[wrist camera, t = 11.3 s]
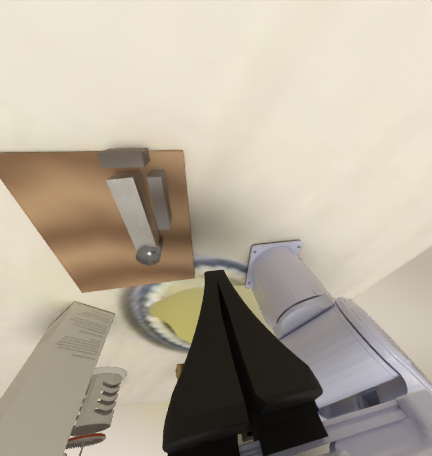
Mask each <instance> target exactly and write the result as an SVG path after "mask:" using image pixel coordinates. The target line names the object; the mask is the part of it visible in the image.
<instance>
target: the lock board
mask: <svg viewBox="0 0 432 456" xmlns="http://www.w3.org/2000/svg"><path fill="white" fill-rule="evenodd" d="M136 170H140V173H141V176H142V179H143V182H144V186H145V189H146V192H147V195H148V199H149V202H150V205H151V208H152V212H153V215H154V218H155V221H156V225H157V228H158V231H159V234H160V236H161V237H162V238H163V246H162V252H161V258H160V261H159V262H158V263H157V264H155V265H151V266H147V265H143V264H141V263H139V262H138V261H137V260H136V253H137V251H136V248H135V246H134V244H133V241H132V239H131V237H130V235H129V232H128V230H127V228H126V225H125V223H124V221H123V218H122V216H121V214H120V212H119V209H118V207H117V205H116V202H115V200H114V198H113V196H112V193H111V191H110V189H109V186H108V184H107V182H106V180H107V179H108V178H109V177H111V176H112V175H114V174H115V173H116V172H125V171H136ZM0 179H1V180H2V182H3V183H4V184H5V186H6V187H7V189H8V190H9V191H10V193H11V194H12V196H13V197H14V198H15V200H16V201H17V202H18V204H19V205H20V207H21V208H22V209H23V211H24V212H25V214H26V215H27V216H28V218H29V219H30V221H31V222H32V223H33V225H34V226H35V228H36V229H37V230H38V232H39V233H40V235H41V236H42V237H43V239H44V240H45V242H46V243H47V244H48V246H49V247H50V249H51V250H52V251H53V253H54V254H55V255H56V257H57V258H58V260H59V261H60V262H61V264H62V265H63V267H64V268H65V269H66V271H67V272H68V274H69V275H70V276H71V278H72V279H73V281H74V282H75V283H76V285H77V286H78V288H79V289H80V290H81V292H82V293H84V292H92V291H100V290H108V289H115V288H123V287H131V286H138V285H146V284H154V283H161V282H169V281H177V280H184V279H192V278H195V273H194V262H193V252H192V241H191V230H190V219H189V208H188V198H187V187H186V176H185V165H184V154H183V150H162V151H148V149H147V148H142V149H108V150H105V151H85V152H7V153H0Z"/></svg>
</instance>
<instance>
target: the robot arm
mask: <svg viewBox="0 0 432 456" xmlns="http://www.w3.org/2000/svg"><path fill="white" fill-rule="evenodd" d="M302 244H303V243H302V241H300V240H298V241H289V242H279V243H270V244H260V245H254V246H252V248H251V254H250V260H249V266H248V272H247V278H246V283H245V287H246V288H252V291H253V293H254V295H255V298H256V300H257V303H258V305H259V307H260V310H261V312H262V315H263V317H264V319H265V321H266V323H267V324H268V325H269V326H270V327H271V328H272V329H273V331H274V333H275V335H276V337H275V336H274V335H273V334H272V333H271V332H270V331H269V330H268V329H267V328H266V327H265V326H264V325H263V324H262V323H261V322H260V320H258V318H257V317H256V316H255V315H254V314H253V313H252V311H251V310H250V309H249V308H248V306H247V305H246V304H245V303H244V301H243V300H242V299H241V297H240V296H239V294H238V293H237V292H236V290H235V289H234V287H233V286H232V284H231V282H230V281H229V279H228V277H227V276H226V274H225V272H224V270H216V271H208V272H205V273H204V275H205V287H204V296H203V302H202V306H201V311H200V316H199V320H198V324H197V327H196V331H195V334H194V337H193V340H192V343H191V347H190V349H189V352H188V355H187V358H186V361H185V363H184V366H183V369H182V371H181V374H180V376H179V379H178V381H177V384H176V386H175V389H174V391H173V394H172V397H171V401H170V404H169V408H168V411H167V415H166V419H165V424H164V430H163V447H162V448H163V450H164V452H167V453H168V456H291V455H294V454H297V453H299V452H303V451H306V450H309V449H312V448H315V447H319V446H322V445H325V444H328V443H330V452H329V453H327V454H323V455H319V456H432V384H431V382H430V381H429V380H428V378H427V377H426V376H425V375H424V374H423V372H422V371H421V370H420V369H419V368H418V367H417V366H416V365H415V363H414V362H413V361H412V360H411V359H410V358H409V357H408V356H407V355H406V354H405V353H404V351H403V350H402V349H401V348H400V347H399V346H398V345H397V344H396V343H395V342H394V340H392V338H391V337H390V336H389V335H388V334H387V333H386V332H385V331H384V330H383V329H382V328H381V327H380V326H379V325H378V324H377V323H376V322H375V321H374V320H373V319H372V318H371V317H370V316H369V315H368V314H367V313H366V312H365V311H364V310H363V309H362V308H360V307H359V306H358V305H357V304H356V303H355V302H353V301H352V300H351V299H346V298H343V297H338V298H337V299H335V298H333V297H332V295H331V294H330V293H329V292H328V291H327V290H326V289H325V287H324V286H323V285H322V284H321V283H320V282H319V280H318V279H317V278H316V277H315V276H314V275H313V273H312V272H311V271H310V270H309V269H308V268H307V267H306V265H305V264H304V263H303V262H302V261H301V260H300V258H299V257H298V254H299V252H300V249H301V246H302ZM255 250H256V251H255ZM238 434H241V435H242V440H243V442H245V441H248V440H252V439H253V440H254V441H253V442H250V443H247V444H243V445H240V446H238V436H237V435H238Z"/></svg>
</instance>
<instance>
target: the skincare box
mask: <svg viewBox="0 0 432 456" xmlns="http://www.w3.org/2000/svg"><path fill="white" fill-rule="evenodd" d="M113 318H114V314H113V313H110V312H106V311H103V310H100V309H97V308H94V307H91V306H88V305H84V304H81V303H78V302H74V303H73V304H72V305H71V306H70V307H69V308H68V309H67V310H66V311H65V312H64V313H63V314H62V315H61V316H60V317H59V318H58V319H57V320H56V321H55V322H53V324H52V325H51V326H50V327H49V328H48V329H47V331H46V333H45V334H44V336H43V337H42V339H41V340H40V342H39V343H38V345H37V346H36V348H35V349H34V351H33V352H32V353H31V355H30V356H29V358H28V359H27V361H26V362H25V364H24V365H23V367H22V368H21V370H20V371H19V373H18V374H17V376H16V377H15V379H14V380H13V381H12V383H11V384H10V386H9V387H8V389H7V390H6V392H5V393H4V395H3V396H2V398H1V399H0V456H63V453H64V450H65V448H66V445H67V442H68V439H69V437H70V434H71V431H72V429H73V426H74V423H75V421H76V418H77V415H78V413H79V410H80V407H81V404H82V402H83V399H84V396H85V394H86V391H87V388H88V386H89V383H90V380H91V378H92V375H93V372H94V369H95V367H96V364H97V361H98V359H99V356H100V353H101V351H102V348H103V345H104V342H105V340H106V337H107V334H108V332H109V329H110V326H111V324H112V321H113Z"/></svg>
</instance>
